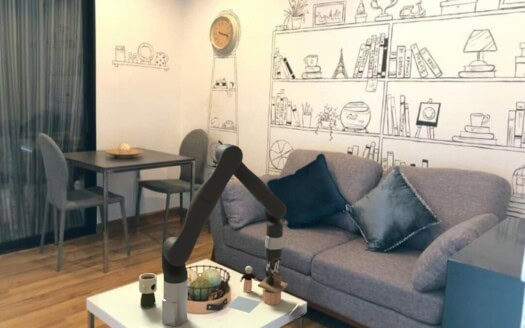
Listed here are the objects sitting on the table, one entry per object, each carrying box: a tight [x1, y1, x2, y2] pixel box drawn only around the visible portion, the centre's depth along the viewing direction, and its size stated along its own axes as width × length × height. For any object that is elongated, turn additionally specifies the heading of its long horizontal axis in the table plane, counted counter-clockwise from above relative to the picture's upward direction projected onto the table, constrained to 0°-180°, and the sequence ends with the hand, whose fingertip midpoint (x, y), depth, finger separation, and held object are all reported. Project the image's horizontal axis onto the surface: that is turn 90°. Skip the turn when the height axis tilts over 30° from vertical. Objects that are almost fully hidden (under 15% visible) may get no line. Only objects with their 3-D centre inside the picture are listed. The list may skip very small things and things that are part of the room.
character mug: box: [138, 272, 158, 309], centre depth 182 cm, size 11×7×13 cm, turn 175°
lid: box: [257, 272, 289, 294], centre depth 189 cm, size 10×10×6 cm
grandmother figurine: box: [239, 265, 258, 293], centre depth 198 cm, size 8×4×13 cm, turn 112°
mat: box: [226, 295, 261, 314], centre depth 186 cm, size 11×11×1 cm
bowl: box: [261, 288, 282, 306], centre depth 190 cm, size 8×8×6 cm
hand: (272, 283), depth 189 cm, fingers closed on lid, 2 cm apart
